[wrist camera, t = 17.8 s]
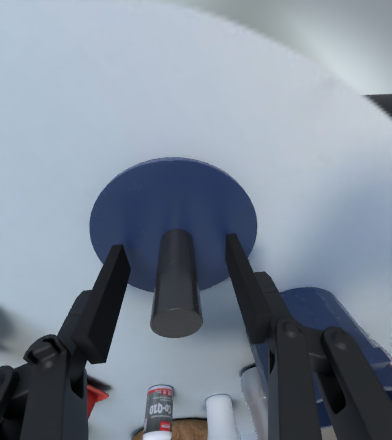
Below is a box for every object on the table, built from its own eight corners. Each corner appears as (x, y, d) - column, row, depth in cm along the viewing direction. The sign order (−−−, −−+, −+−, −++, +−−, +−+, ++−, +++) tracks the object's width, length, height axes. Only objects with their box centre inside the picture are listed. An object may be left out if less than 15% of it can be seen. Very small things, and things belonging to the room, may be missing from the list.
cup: (197, 394, 39) (203, 475, 30) (241, 390, 40) (258, 467, 31) (195, 407, 43) (199, 481, 35) (234, 404, 44) (247, 474, 36)
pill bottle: (174, 384, 35) (174, 455, 28) (171, 393, 37) (169, 461, 30) (148, 384, 34) (141, 458, 27) (146, 394, 37) (139, 464, 29)
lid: (262, 148, 14) (351, 195, 7) (245, 277, 21) (279, 364, 14) (66, 162, 13) (-61, 231, 6) (119, 291, 20) (90, 388, 13)
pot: (360, 266, 22) (468, 363, 14) (315, 343, 31) (363, 427, 23) (252, 277, 21) (299, 386, 13) (240, 353, 31) (263, 442, 23)
